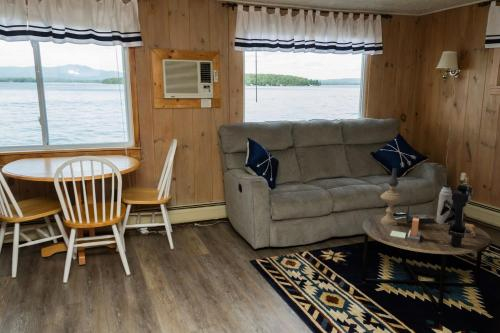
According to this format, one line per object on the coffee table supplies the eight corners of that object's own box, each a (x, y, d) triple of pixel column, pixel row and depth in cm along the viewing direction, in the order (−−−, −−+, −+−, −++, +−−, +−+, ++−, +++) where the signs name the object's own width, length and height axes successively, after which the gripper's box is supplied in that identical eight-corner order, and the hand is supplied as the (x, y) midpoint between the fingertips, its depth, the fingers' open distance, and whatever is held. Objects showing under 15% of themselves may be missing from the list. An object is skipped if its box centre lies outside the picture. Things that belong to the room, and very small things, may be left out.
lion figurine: (453, 231, 260) (455, 218, 258) (455, 229, 264) (456, 216, 262) (477, 236, 251) (479, 223, 249) (479, 234, 255) (481, 221, 253)
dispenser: (420, 235, 250) (420, 231, 249) (419, 242, 238) (419, 238, 238) (408, 233, 253) (409, 229, 252) (406, 240, 242) (407, 236, 241)
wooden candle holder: (403, 226, 265) (409, 171, 258) (382, 226, 265) (388, 170, 257) (395, 219, 280) (401, 166, 272) (375, 219, 280) (380, 166, 272)
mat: (406, 233, 252) (406, 233, 252) (404, 238, 244) (404, 237, 243) (391, 231, 256) (391, 230, 256) (390, 236, 247) (390, 235, 247)
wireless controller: (423, 217, 288) (426, 196, 284) (435, 224, 274) (438, 201, 271) (399, 218, 285) (401, 196, 282) (409, 224, 271) (411, 201, 268)
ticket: (416, 236, 247) (419, 218, 245) (416, 239, 243) (418, 221, 240) (411, 235, 249) (413, 217, 246) (410, 238, 244) (412, 220, 242)
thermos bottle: (442, 220, 281) (447, 183, 276) (450, 224, 274) (455, 186, 268) (433, 221, 279) (438, 184, 273) (441, 225, 271) (446, 187, 266)
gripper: (475, 217, 234) (456, 233, 242) (465, 201, 251) (448, 217, 258) (461, 208, 234) (442, 224, 241) (452, 193, 250) (435, 209, 257)
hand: (442, 219), depth 249 cm, fingers open, 9 cm apart
